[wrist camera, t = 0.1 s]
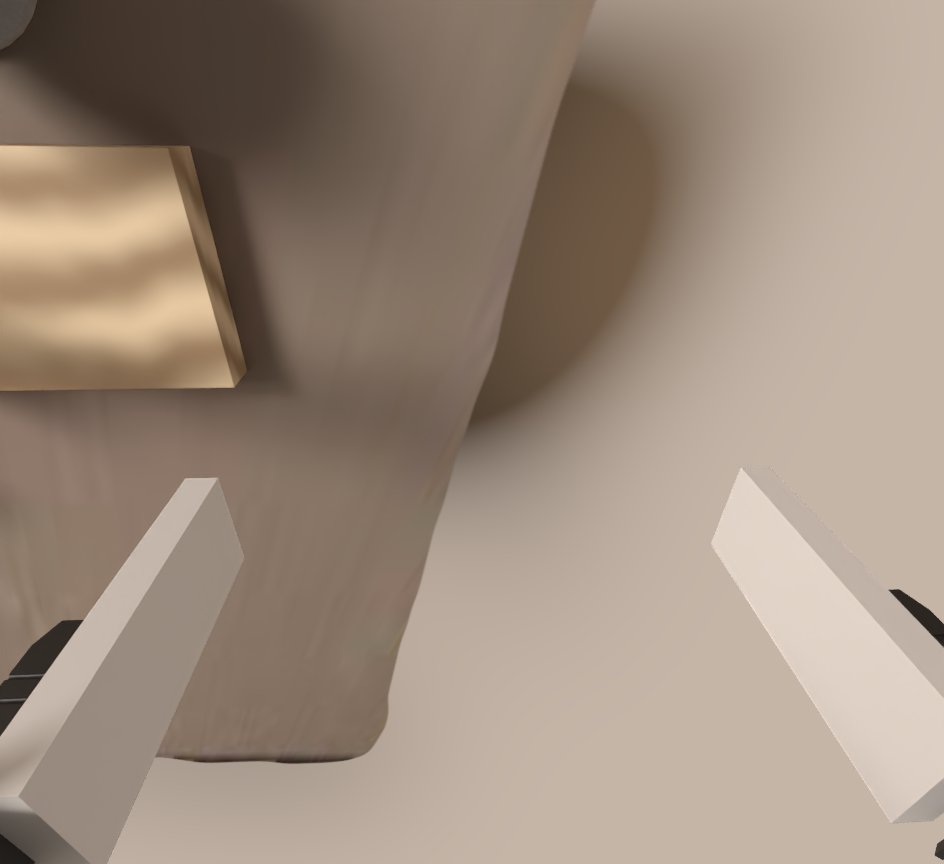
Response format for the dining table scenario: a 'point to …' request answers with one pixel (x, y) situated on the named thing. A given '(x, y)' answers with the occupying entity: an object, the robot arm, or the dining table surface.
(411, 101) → the dining table surface
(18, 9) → the mate gourd
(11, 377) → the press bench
